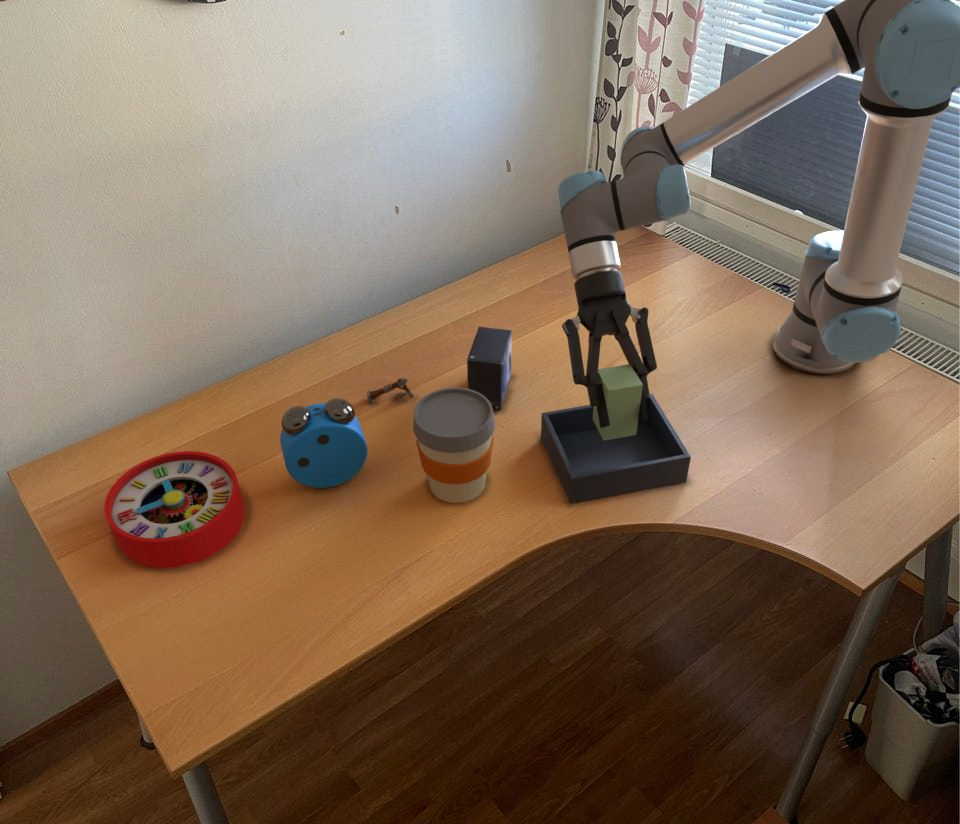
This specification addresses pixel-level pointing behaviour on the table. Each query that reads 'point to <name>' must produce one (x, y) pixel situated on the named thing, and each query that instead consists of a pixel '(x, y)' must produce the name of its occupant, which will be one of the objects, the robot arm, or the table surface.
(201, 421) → the table surface
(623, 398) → the block
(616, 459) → the bin
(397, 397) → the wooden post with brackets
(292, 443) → the alarm clock
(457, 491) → the reusable coffee cup
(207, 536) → the toy clock
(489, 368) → the small box
